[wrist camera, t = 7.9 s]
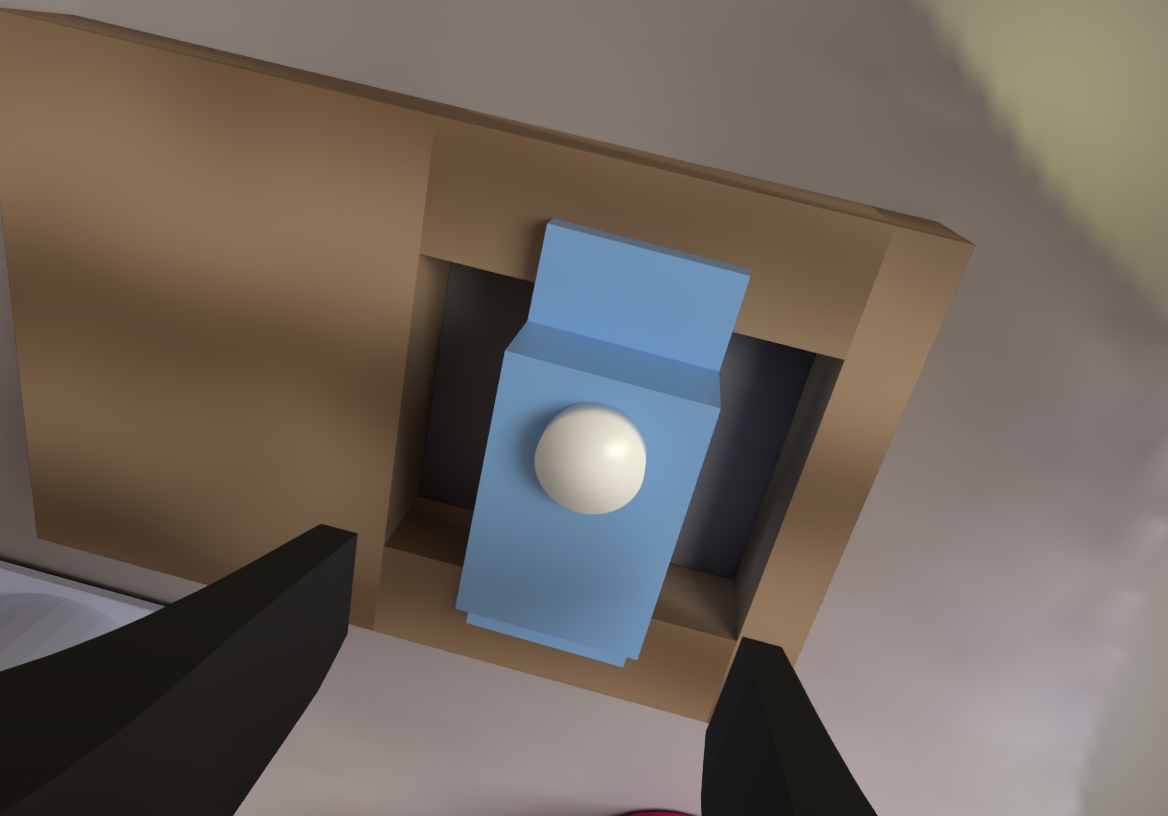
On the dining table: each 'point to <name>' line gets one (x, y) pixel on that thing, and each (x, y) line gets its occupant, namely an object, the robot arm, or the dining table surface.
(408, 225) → the plate
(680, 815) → the pepper mill
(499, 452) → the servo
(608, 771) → the dining table surface
